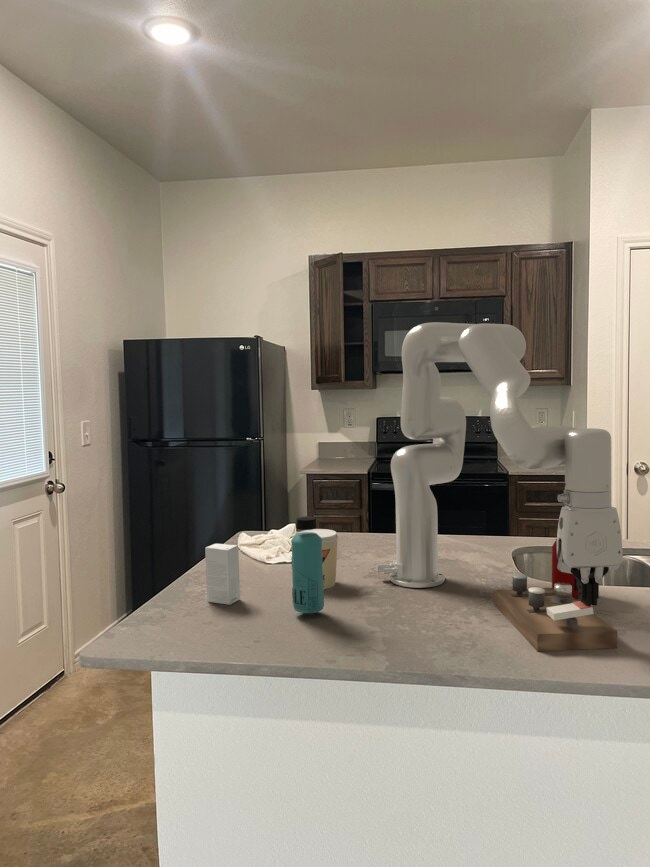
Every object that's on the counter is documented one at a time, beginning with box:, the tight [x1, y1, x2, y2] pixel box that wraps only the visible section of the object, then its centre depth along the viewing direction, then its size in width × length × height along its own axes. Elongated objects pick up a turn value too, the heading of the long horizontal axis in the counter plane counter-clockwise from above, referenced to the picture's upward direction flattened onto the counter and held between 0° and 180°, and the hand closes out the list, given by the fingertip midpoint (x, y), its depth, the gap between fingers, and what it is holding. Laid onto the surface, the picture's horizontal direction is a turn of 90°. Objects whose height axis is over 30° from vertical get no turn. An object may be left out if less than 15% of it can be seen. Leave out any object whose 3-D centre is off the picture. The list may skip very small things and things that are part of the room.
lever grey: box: [511, 572, 528, 595], centre depth 133 cm, size 3×3×4 cm
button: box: [554, 583, 572, 598], centre depth 129 cm, size 3×3×2 cm
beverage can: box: [551, 537, 579, 599], centre depth 142 cm, size 7×7×12 cm
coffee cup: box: [299, 528, 339, 590], centre depth 153 cm, size 9×9×12 cm
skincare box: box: [204, 543, 241, 606], centre depth 143 cm, size 6×4×12 cm
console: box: [493, 587, 618, 652], centre depth 126 cm, size 14×24×5 cm, turn 3°
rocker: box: [546, 600, 595, 621], centre depth 117 cm, size 7×3×1 cm, turn 93°
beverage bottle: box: [290, 515, 326, 614], centre depth 133 cm, size 6×7×20 cm
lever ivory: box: [527, 586, 545, 610], centre depth 124 cm, size 3×3×4 cm
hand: (588, 603), depth 116 cm, fingers closed
